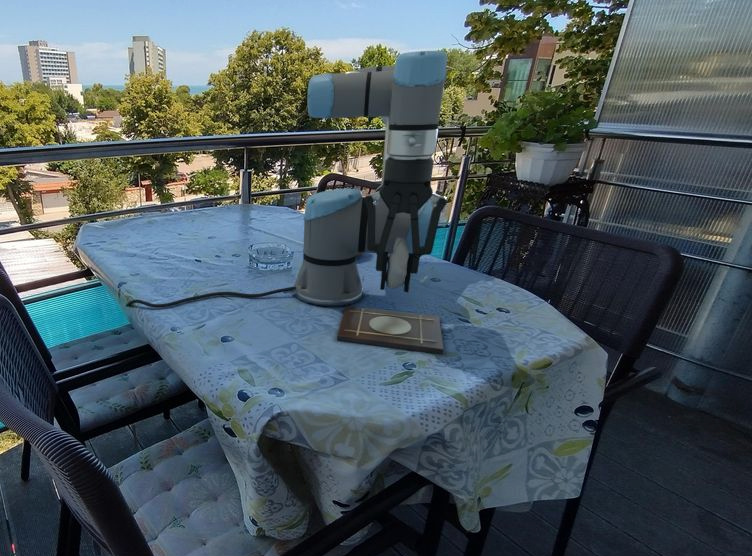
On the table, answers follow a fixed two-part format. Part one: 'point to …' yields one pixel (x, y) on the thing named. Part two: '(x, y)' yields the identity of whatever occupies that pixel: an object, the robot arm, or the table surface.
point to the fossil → (397, 264)
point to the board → (391, 329)
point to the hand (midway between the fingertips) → (394, 287)
